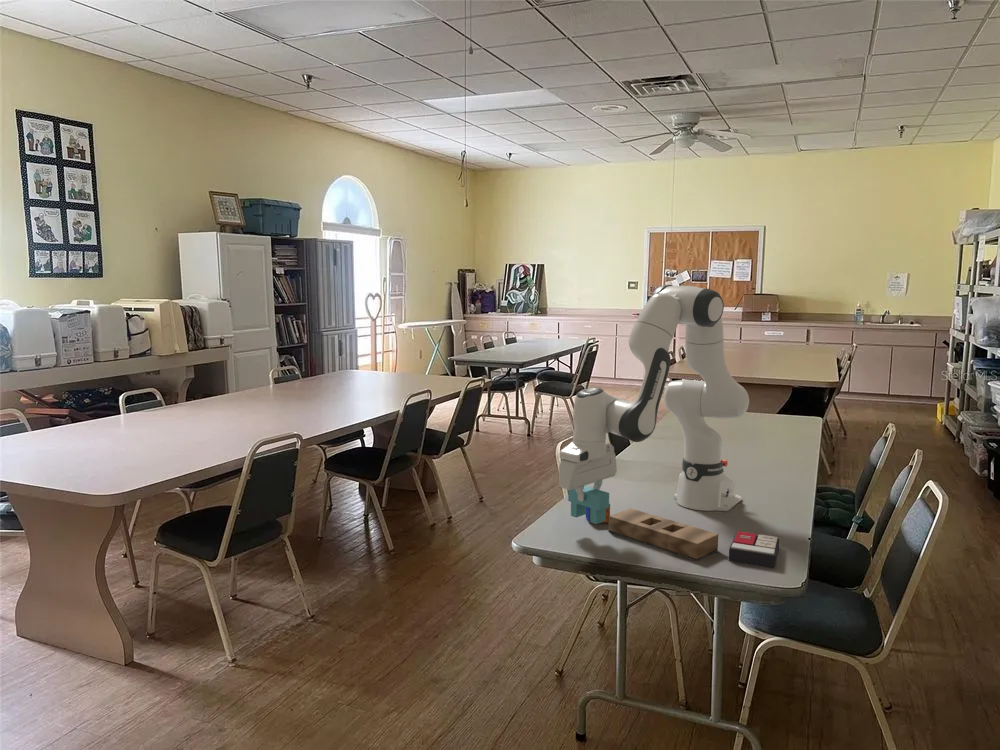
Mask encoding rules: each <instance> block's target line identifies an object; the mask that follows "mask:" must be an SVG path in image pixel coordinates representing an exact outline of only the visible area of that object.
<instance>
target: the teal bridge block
mask: <svg viewBox="0 0 1000 750" xmlns="http://www.w3.org/2000/svg"><path fill="white" fill-rule="evenodd" d="M567 491H568V492H567V493H568V496H567V500H568V502H570V516H571V517H574V518H578V517H581V516H582V517H583V516H586V507H589V508H591V518H590V522H591V523H594V524H595V525H597V524H598V523H601V522H604V521H606V508H609V504H610V492H607V491H603V490H601V489H600V490H597V489H594V488H593V487H590V486H588V485H585V486H584V489H583V492H584V494H586V500H585V501H579V500H578V494H577V492H576V490H575V489H572V490H567ZM594 524H593V525H594Z"/></svg>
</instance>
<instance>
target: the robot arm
mask: <svg viewBox="0 0 1000 750" xmlns="http://www.w3.org/2000/svg"><path fill="white" fill-rule="evenodd" d="M724 304H725V303H724V300H723V298H722V296H721V294H720V292H718V291H716V290H714V289H712V288H711V289H710V288H703V287H700V286H693V285H672V284H665V285H660V286H659V287H657V288H655V290H654V291H653V292H652V293H651V296H650V297H649V299H648V301H647V302H646V303H645V305H644V306H643V307H642V309H641V311H640V313H639V314H638V317H637V319H636V321H635V323H634V324H633V326H632V329H631V331H630V334H629V339H628V345H629V349H630V352H631V353H632V355H634V357H635V358H636V359H637V360H639V361H640V362H641V363H642V365H643V367H644V370H645V371H644V374H643V380H642V382H641V384H640V385H641V386H640V389H639V392H638V395H637V398H636V399H635V400H634V401H630V400H626V399H623V398H618V397H616V396H613V395H611V394H609V393H607V392H606V391H605V390H604V389H603V388H601V387H587V388H584V389H582V390H580V391H578V392H577V393H576V394H575V395H576V396H575V398H574V403H573V409H572V410H573V412H572V413H573V415H572V418H573V419H572V422H573V426H574V432H573V433H572V434H573V435H572V441H571V442H570V443H569V444H567V445H566V446H565V447H564V448H562V449H561V450H560V451H559V459H561V461H560V462H559V467H558V484H559V486H560V487H561V488H562V489H565V490H567V491H568V490H572V489H575V490H576V492H577V494H578V500H579V501H585V500H586V494H584V492H583V489H584V486H588V485H591V484H593V487H592V488H594V489H597V490H601V487H602V485H603V480H606V479H610V478H612V477H614V476H616V474H617V469H618V468H617V456H616V453H615V447H614V445H613V444H612V443H610V442H609V443H607V434H608V433H611V434H613V435H616V436H620V437H622V438H625V439H626V440H629V441H631V442H634V443H640V442H641V443H642V442H644V441H645V440H646V439H648V438H649V437H650V436H651V435H652V434H653V432H654V431H655V429H656V425H657V419H658V410H659V408H660V403H661V400H662V396H663V402H664V405H665V407H666V408H667V410H668V411H669V412H671V413H672V415H674V417H676V419H677V421H678V422H679V424H680V426H681V429H682V433H683V437H684V438H683V440H684V441H683V442H684V444H683V445H684V449H683V451H684V454H683V455H684V457H683V458H682V462H681V465H682V467H681V470H682V472H680V474H678V475H679V476H678V481H677V482H678V484H677V488H676V489H677V490H676V493H674V494H673V498H674V499H675V500H676V503H677V504H678V505H679V506H681V507H684V508H687V509H691V510H696V511H705V512H706V511H710V512H711V511H718V512H719V511H721V512H728V511H730V510H731V509H732V508H734V506H736V505H737V504H739V502H741V501H742V496H741V495H739V494H737V493H735V483H734V481H733V480H732V479H731V478H730V476H728V475H727V473H725V470H724V467H727V466H728V463H729V461H728V459H722V447H723V446H722V445H723V444H722V443H723V440H722V436H721V434H720V433H719V432H718V431H717V430H715V429H714V428H712V427H710V425H708V424H707V422H706V420H705V418H713V419H721V420H722V419H724V420H726V419H737V418H739V419H740V418H742V417H743V416H744V415H745V414H746V412H747V411H748V409H749V406H750V397H749V394H748V391H747V389H746V388H744V386H742V385H741V384H740V383H739V382H737V381H736V380H735V379H734V378H733V376H732V374H731V373H730V371H729V370H728V367H727V364H726V360H725V349H724V348H725V347H724V326H723V325H724V324H723V320H722V319H723V318H722V316H723V313H724V309H725V308H724V307H725V305H724ZM678 324H679V325H685V328H684V329H685V330H684V331H685V334H684V335H685V336H684V341H685V342H684V343H685V362H686V364H687V366H688V367H689V369H690V370H691V371H693V372H695V373H696V374H698V375H700V377H701V378H702V379H703V380H695V379H678V380H671V381H669V383H668V384H667V385H666V382H667V378H668V377H669V372H670V367H671V360H672V358H671V355H670V352H669V351H670V346H671V342H672V340H673V338H674V336H675V333H676V330H677V327H678ZM665 385H666V386H665ZM704 417H705V418H704Z"/></svg>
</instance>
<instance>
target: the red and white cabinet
mask: <svg viewBox="0 0 1000 750" xmlns="http://www.w3.org/2000/svg"><path fill="white" fill-rule="evenodd" d="M779 550H780V539H779V537H777V536H773V535H766V534H758V535H757V533H754V532H747V531H737V532H736V533H735V535H734V537H733V539H732V542H731V543H730V546H729V550H728V562H731V563H736V564H737V563H738V564H743V565H749V566H754V567H760V568H761V567H762V568H767V569H773V570H774V569H776V566H777V560H778V554H779Z"/></svg>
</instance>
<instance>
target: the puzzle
mask: <svg viewBox="0 0 1000 750" xmlns="http://www.w3.org/2000/svg"><path fill="white" fill-rule="evenodd" d="M609 516H611V504H610V503H609V508H606V521H604V522H601V523H598V524H609ZM585 518H586V520H587V521H588V524H590V525H592V524H593V525H594V523H591V522H590V518H591V508H589V507H586V514H585Z"/></svg>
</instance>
